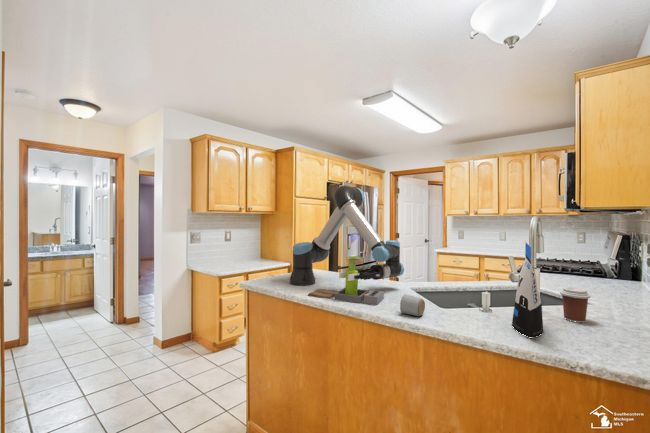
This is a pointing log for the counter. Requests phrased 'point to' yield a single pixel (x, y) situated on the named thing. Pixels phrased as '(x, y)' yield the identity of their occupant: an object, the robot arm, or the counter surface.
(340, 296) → the tray
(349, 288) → the soap dispenser
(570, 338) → the counter surface
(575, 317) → the coffee cup
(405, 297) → the ceramic mug
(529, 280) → the protein powder
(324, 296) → the walnut pad
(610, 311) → the counter surface
